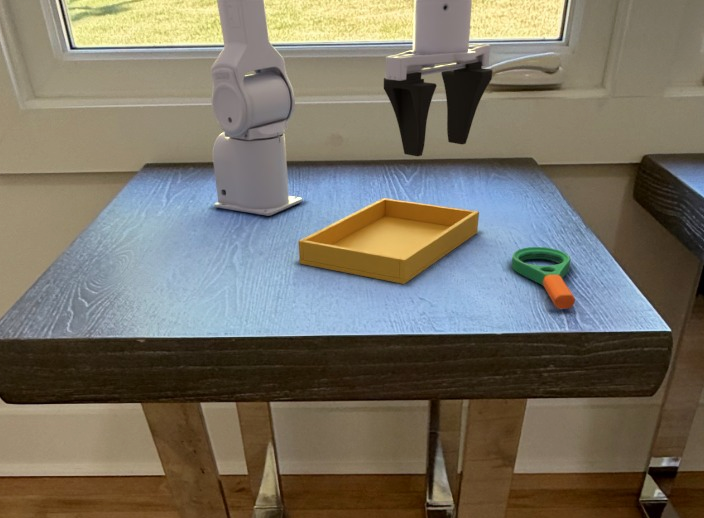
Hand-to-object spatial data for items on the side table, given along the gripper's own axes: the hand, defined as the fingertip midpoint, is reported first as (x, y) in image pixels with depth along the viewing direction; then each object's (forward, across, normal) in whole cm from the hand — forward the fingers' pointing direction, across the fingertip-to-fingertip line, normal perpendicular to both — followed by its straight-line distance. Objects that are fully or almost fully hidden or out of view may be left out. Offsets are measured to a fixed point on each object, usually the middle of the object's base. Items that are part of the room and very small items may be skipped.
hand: (435, 148), depth 78 cm
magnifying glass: (+10, -3, -18) cm, 21 cm away
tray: (+10, -5, +2) cm, 11 cm away
